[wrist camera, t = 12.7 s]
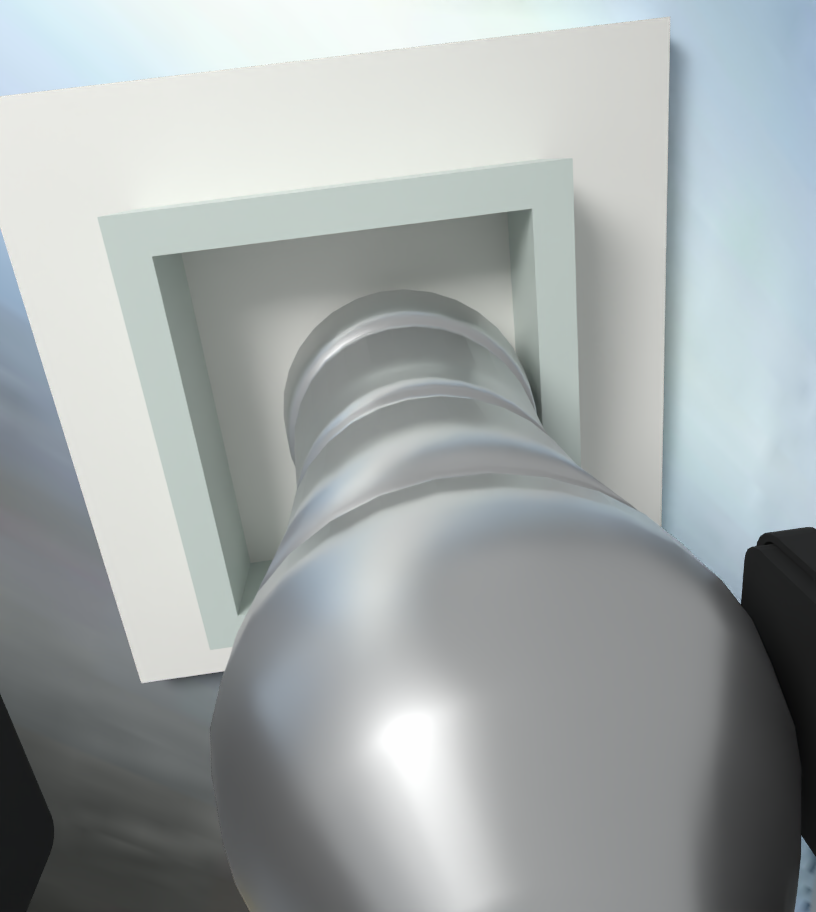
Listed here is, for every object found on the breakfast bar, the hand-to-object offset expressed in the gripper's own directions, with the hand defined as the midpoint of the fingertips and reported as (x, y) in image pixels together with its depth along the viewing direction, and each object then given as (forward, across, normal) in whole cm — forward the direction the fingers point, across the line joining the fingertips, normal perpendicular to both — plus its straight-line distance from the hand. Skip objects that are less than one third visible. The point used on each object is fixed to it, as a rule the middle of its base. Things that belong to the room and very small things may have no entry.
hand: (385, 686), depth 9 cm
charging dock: (+15, 0, +1) cm, 15 cm away
